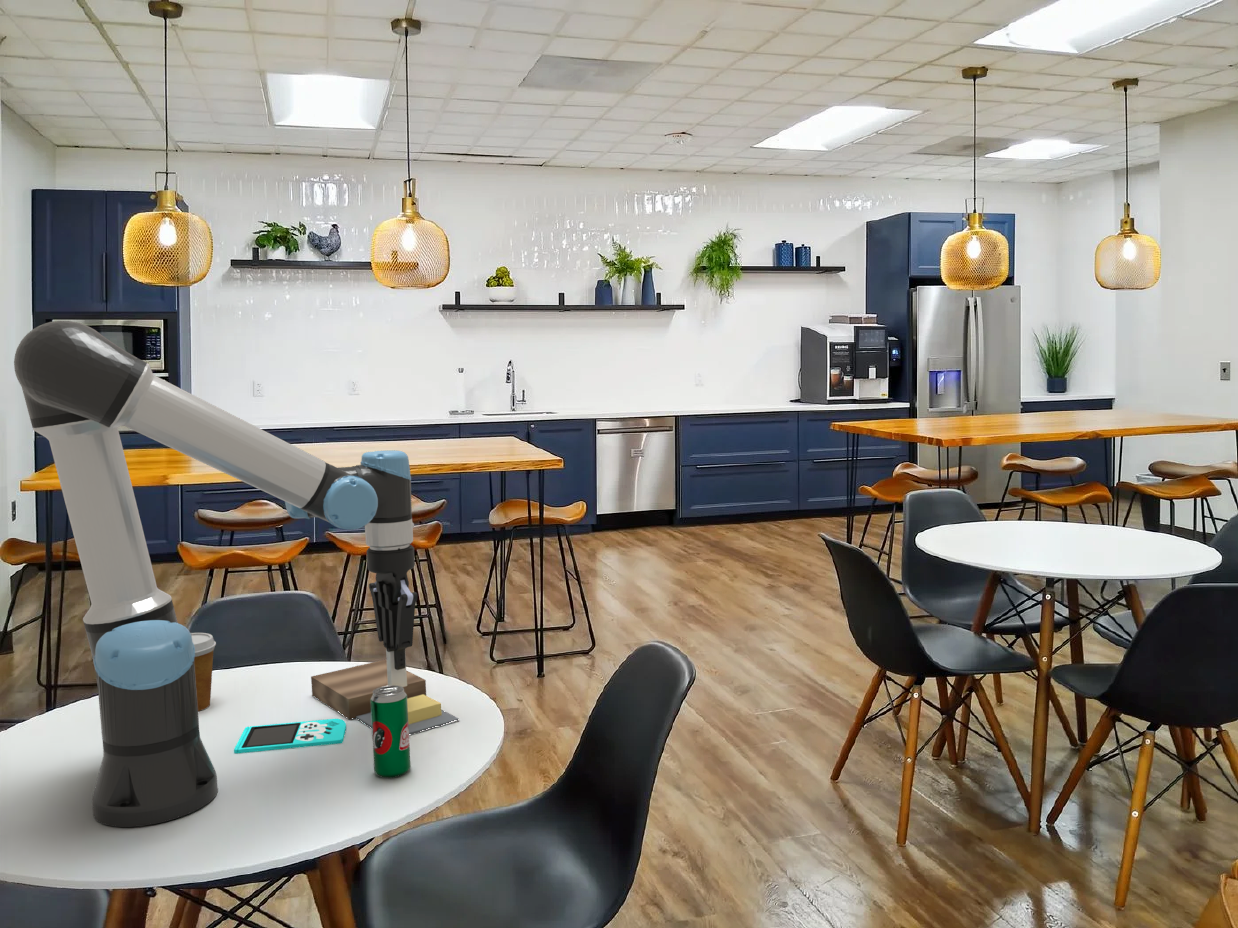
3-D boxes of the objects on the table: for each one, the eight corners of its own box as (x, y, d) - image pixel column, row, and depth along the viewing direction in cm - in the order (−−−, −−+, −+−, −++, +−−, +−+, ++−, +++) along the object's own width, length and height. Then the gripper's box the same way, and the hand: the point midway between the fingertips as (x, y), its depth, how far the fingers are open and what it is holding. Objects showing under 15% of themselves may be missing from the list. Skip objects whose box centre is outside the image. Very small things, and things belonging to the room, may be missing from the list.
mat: (459, 720, 156) (459, 718, 156) (390, 740, 149) (390, 738, 149) (421, 701, 166) (421, 698, 166) (355, 718, 159) (355, 716, 158)
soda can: (410, 777, 135) (405, 694, 134) (372, 781, 134) (368, 697, 133) (411, 763, 140) (407, 682, 139) (375, 766, 139) (371, 685, 138)
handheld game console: (342, 747, 148) (342, 738, 148) (232, 757, 145) (232, 749, 145) (348, 723, 158) (347, 715, 158) (245, 733, 155) (244, 725, 155)
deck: (426, 699, 167) (425, 679, 166) (349, 719, 158) (348, 699, 158) (385, 677, 179) (384, 659, 179) (312, 695, 170) (311, 676, 170)
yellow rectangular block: (423, 694, 162) (423, 705, 163) (373, 707, 157) (374, 719, 157) (440, 703, 158) (441, 714, 158) (390, 716, 152) (391, 729, 152)
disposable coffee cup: (200, 694, 173) (195, 629, 172) (231, 704, 167) (226, 636, 166) (148, 710, 165) (143, 642, 164) (179, 721, 160) (173, 650, 158)
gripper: (430, 547, 154) (437, 690, 156) (393, 537, 164) (400, 672, 166) (386, 554, 149) (394, 702, 152) (351, 543, 159) (359, 682, 162)
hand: (397, 686), depth 159 cm, fingers closed
